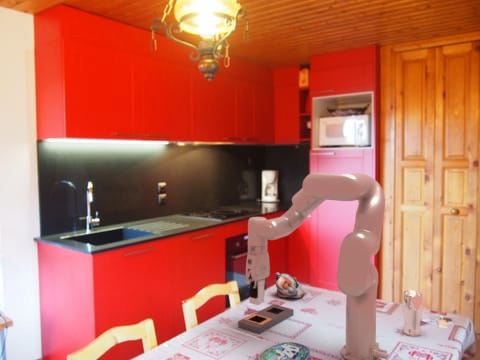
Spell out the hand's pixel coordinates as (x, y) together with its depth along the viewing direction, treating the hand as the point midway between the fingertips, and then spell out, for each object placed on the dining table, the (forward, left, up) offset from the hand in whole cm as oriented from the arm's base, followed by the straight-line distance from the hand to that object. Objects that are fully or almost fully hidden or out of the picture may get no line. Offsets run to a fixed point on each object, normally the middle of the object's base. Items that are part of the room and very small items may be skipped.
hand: (257, 295), depth 154 cm
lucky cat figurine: (+9, -38, -13) cm, 41 cm away
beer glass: (-48, -32, -13) cm, 59 cm away
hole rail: (0, -6, -12) cm, 14 cm away
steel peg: (0, 0, -3) cm, 3 cm away
